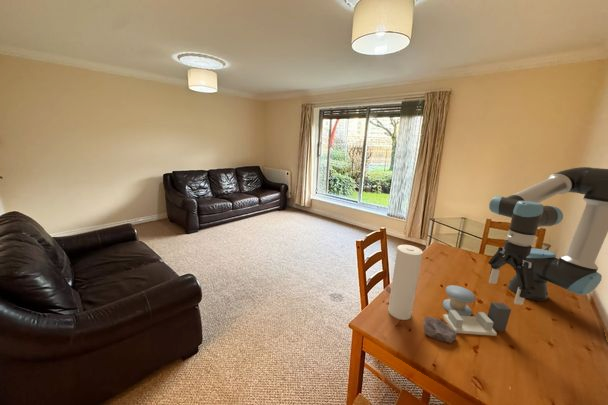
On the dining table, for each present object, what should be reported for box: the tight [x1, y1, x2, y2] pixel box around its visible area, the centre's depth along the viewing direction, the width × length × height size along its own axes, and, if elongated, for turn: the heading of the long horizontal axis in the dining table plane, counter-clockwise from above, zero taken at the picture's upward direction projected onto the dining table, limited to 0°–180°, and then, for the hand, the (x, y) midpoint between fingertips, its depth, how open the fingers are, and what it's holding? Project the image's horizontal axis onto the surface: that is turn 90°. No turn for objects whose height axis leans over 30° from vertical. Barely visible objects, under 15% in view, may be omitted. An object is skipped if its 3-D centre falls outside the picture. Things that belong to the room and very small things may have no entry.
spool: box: [442, 284, 476, 316], centre depth 110 cm, size 11×11×8 cm
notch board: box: [442, 310, 497, 337], centre depth 100 cm, size 16×9×5 cm, turn 87°
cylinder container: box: [387, 244, 424, 321], centre depth 103 cm, size 9×9×30 cm
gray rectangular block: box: [487, 301, 512, 332], centre depth 99 cm, size 5×4×10 cm
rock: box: [423, 316, 458, 344], centre depth 95 cm, size 8×11×4 cm
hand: (504, 292), depth 97 cm, fingers open, 13 cm apart
